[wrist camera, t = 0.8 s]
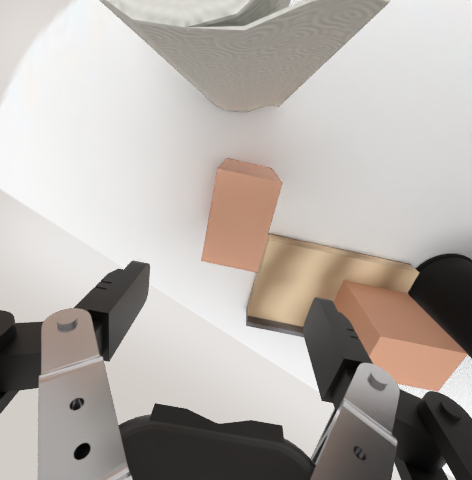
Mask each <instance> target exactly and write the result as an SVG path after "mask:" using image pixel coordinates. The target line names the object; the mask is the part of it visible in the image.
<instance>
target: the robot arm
mask: <svg viewBox="0 0 472 480" xmlns="http://www.w3.org/2000/svg"><path fill="white" fill-rule="evenodd" d="M149 274H150V265H149V264H148V263H143V262H138V261H132V262H131V263H130V264H129V265H128V266H127V267H126V268H125V269H124V270H123V269H117V270H115V271H113V272H111V273H109V274H107V275H106V276H105V277H104V278H103V279H102V280H101V282H99V283H98V284H97V285H96V287H95V288H93V289H92V290H91V291H90V292H89V293H88V294H87V295H86V296H85V297H84V298H83V299H82V300H81V301H80V302H79V303H78V304H77V305H76V306H75V307H74V308H70V309H65V310H61V311H58V312H56V313H54V314H52V315H50V316H49V317H48V318H47V319H46V320H45V321H44V322H30V323H15V319H14V316H13V315H12V314H11V313H9V312H6V311H1V310H0V413H1V412H2V411H3V410H4V408H5V407H6V406H7V405H8V404H9V402H10V401H11V400H12V399H13V397H14V396H15V395H16V394H17V393H18V391H19V390H25V389H33V388H39V403H38V480H391V478H392V472H393V466H394V462H395V465H396V467H397V470H398V472H399V475H400V477H401V480H448V478H447V476H446V475H445V473H444V471H443V469H442V467H443V466H444V465H445V464H446V463H447V464H448V466H449V468H450V470H451V471H452V473H453V475H454V477H455V479H456V480H472V419H471V417H470V416H469V415H468V413H467V412H466V411H465V410H464V409H463V408H462V407H461V406H460V405H458V404H457V403H456V402H455V401H453V400H452V399H450V398H449V397H447V396H445V395H443V394H441V393H438V392H434V391H430V392H427V393H426V394H425V395H424V397H423V398H422V399H420V398H418V397H416V396H414V395H412V394H409V393H407V392H405V391H403V390H401V389H399V387H398V385H397V383H396V381H395V380H394V379H393V378H392V376H391V375H390V374H388V373H387V372H386V371H385V370H383V369H382V368H380V367H378V366H376V365H374V364H373V363H372V361H371V359H370V357H369V355H368V353H367V352H366V350H365V348H364V346H363V344H362V342H361V341H360V339H359V337H358V335H357V333H356V332H355V330H354V328H353V326H352V324H351V322H350V321H349V320H348V319H347V318H346V317H345V316H344V315H343V314H342V313H341V312H338V310H337V309H336V307H335V305H334V303H333V301H332V300H328V299H323V298H318V297H315V298H314V300H313V302H312V304H311V307H310V309H309V312H308V314H307V317H306V319H305V322H304V326H303V334H304V338H305V342H306V345H307V349H308V352H309V356H310V360H311V363H312V367H313V370H314V374H315V378H316V381H317V385H318V388H319V392H320V396H321V399H322V401H326V402H331V403H333V404H334V407H335V409H334V410H333V412H332V414H331V417H330V419H329V421H328V423H327V425H326V427H325V429H324V431H323V433H322V436H321V438H320V440H319V442H318V444H317V447H316V448H315V451H314V453H313V455H312V457H311V458H309V457H308V456H307V455H306V454H305V453H304V452H303V451H302V450H301V449H299V448H298V447H297V446H296V445H294V444H293V443H291V442H290V441H288V440H286V439H284V437H283V428H282V426H281V425H275V424H269V423H264V422H258V421H252V420H250V421H242V422H233V423H224V424H217V423H215V422H213V421H210V420H209V419H206V418H204V417H202V416H200V415H198V414H196V413H194V412H192V411H190V410H188V409H184V408H178V407H173V406H167V405H161V404H155V405H154V408H153V411H152V414H151V415H145V416H140V417H136V418H134V419H131V420H128V421H126V422H124V423H122V424H120V425H118V422H117V417H116V413H115V409H114V404H113V400H112V395H111V391H110V387H109V382H108V378H107V373H106V369H105V365H104V361H110V359H111V358H112V356H113V354H114V353H115V351H116V349H117V348H118V346H119V344H120V343H121V341H122V340H123V338H124V336H125V335H126V333H127V331H128V330H129V328H130V327H131V325H132V323H133V322H134V320H135V318H136V317H137V315H138V313H139V312H140V310H141V308H142V307H143V305H144V303H145V301H146V299H147V295H148V287H149Z"/></svg>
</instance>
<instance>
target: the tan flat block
mask: <svg viewBox="0 0 472 480" xmlns="http://www.w3.org/2000/svg"><path fill="white" fill-rule="evenodd" d="M419 273H420V272H418V271H417V270H416V269H415V268H413V267H412V266H411V265H410V264H406V263H401V262H397V261H392V260H387V259H383V258H378V257H373V256H369V255H364V254H359V253H355V252H350V251H345V250H341V249H336V248H332V247H327V246H322V245H318V244H313V243H308V242H304V241H299V240H294V239H290V238H285V237H280V236H276V235H271V234H268V236H267V239H266V243H265V246H264V250H263V253H262V257H261V260H260V264H259V267H258V271H257V274H256V277H255V281H254V285H253V288H252V292H251V295H250V299H249V302H248V306H247V309H246V326H251V327H256V328H261V329H266V330H271V331H276V332H281V333H286V334H291V335H296V336H301V337H304V334H303V326H304V322H305V319H306V317H307V314H308V312H309V309H310V307H311V304H312V302H313V300H314V298H315V297H318V298H323V299H328V300H332V301H333V303H334V301H335V298H336V296H337V294H338V292H339V290H340V287H341V285H342V283H343V281H344V280H346V281H350V282H355V283H360V284H365V285H369V286H374V287H379V288H384V289H388V290H393V291H398V292H403V293H408V291H409V290H410V288H411V286H412V285H413V283H414V281H415V279H416V278H417V276H418V274H419Z"/></svg>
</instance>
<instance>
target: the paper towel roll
mask: <svg viewBox="0 0 472 480" xmlns="http://www.w3.org/2000/svg"><path fill="white" fill-rule="evenodd" d="M100 1H101V2H102V3H103V4H104V5H105V6H106V7H107V8H109V9H110V10H111V11H112V12H113V13H114V14H115V15H116V16H117V17H119V18H120V19H121V20H122V21H123V22H124V23H125V24H126V25H127V26H129V27H130V28H131V29H132V30H133V31H134V32H135V33H136V34H137V35H138V36H140V37H141V38H142V39H143V40H144V41H145V42H146V43H147V44H148V45H150V46H151V47H152V48H153V49H154V50H155V51H156V52H157V53H158V54H160V55H161V56H162V57H163V58H164V59H165V60H166V61H167V62H168V63H169V64H171V65H172V66H173V67H174V68H175V69H176V70H177V71H178V72H179V73H181V74H182V75H183V76H184V77H185V78H186V79H187V80H188V81H189V82H190V83H192V84H193V85H194V86H195V87H196V88H197V89H198V90H199V91H200V92H202V93H203V94H204V95H205V96H206V97H207V98H208V99H209V100H210V101H212V102H213V103H214V104H216V105H217V106H218V107H220V108H221V109H223V110H230V111H242V112H249V111H251V110H254V109H257V108H259V107H262V106H271V105H273V106H277V107H279V106H280V105H281V104H282V103H283V102H284V101H285V100H286V99H287V98H288V97H289V96H290V95H291V94H293V93H294V92H295V91H296V90H297V89H298V88H299V87H300V86H301V85H302V84H303V83H304V82H305V81H306V80H307V79H308V78H310V77H311V76H312V75H313V74H314V73H315V72H316V71H317V70H318V69H319V68H320V67H321V66H322V65H323V64H324V63H325V62H327V61H328V60H329V59H330V58H331V57H332V56H333V55H334V54H335V53H336V52H337V51H338V50H339V49H340V48H341V47H342V46H344V45H345V44H346V43H347V42H348V41H349V40H350V39H351V38H352V37H353V36H354V35H355V34H356V33H357V32H358V31H359V30H360V29H362V28H363V27H364V26H365V25H366V24H367V23H368V22H369V21H370V20H371V19H372V18H373V17H374V16H375V15H376V14H377V13H379V12H380V11H381V10H382V9H383V8H384V7H385V6H386V5H387V4H388V3H389V2H390V0H303V1H301V2H298V3H296V4H294V5H291V6H289V3H290V0H100ZM288 6H289V7H288Z"/></svg>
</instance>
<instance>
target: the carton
mask: <svg viewBox="0 0 472 480" xmlns="http://www.w3.org/2000/svg"><path fill="white" fill-rule="evenodd" d="M281 186H282V182H281V180H280V179H279V177H278V176H277V175H276V173H275V172H274V170H273V169H272V168H268V167H264V166H259V165H255V164H250V163H246V162H242V161H237V160H233V159H228V158H227V159H226V160H225V161H224V162H223V163H222V164H221V165H220V166H219V168H218V169H217V175H216V180H215V186H214V192H213V198H212V203H211V209H210V215H209V220H208V226H207V232H206V237H205V243H204V249H203V254H202V260H201V261H205V262H209V263H214V264H219V265H224V266H228V267H233V268H238V269H243V270H248V271H252V272H257V271H258V267H259V264H260V260H261V257H262V253H263V250H264V246H265V243H266V239H267V236H268V232H269V228H270V225H271V221H272V218H273V214H274V211H275V207H276V204H277V200H278V197H279V193H280V190H281Z"/></svg>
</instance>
